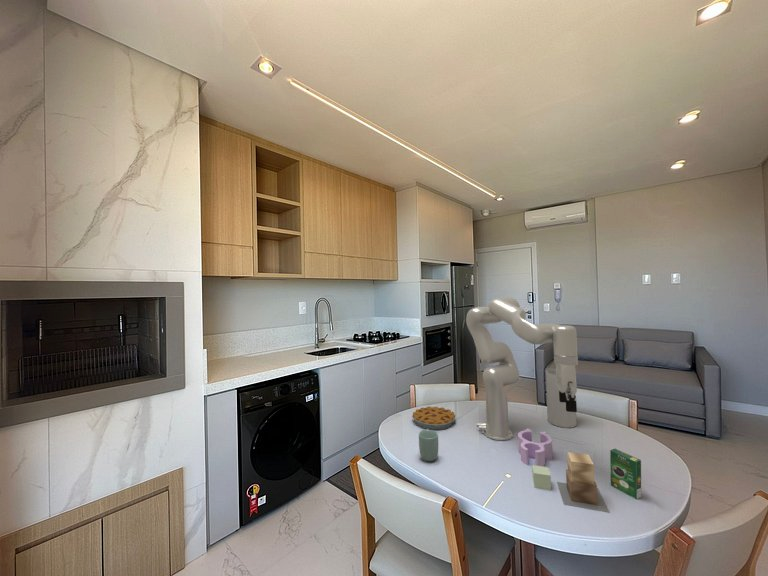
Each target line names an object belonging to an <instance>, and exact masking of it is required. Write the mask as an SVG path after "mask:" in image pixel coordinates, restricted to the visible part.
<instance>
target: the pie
mask: <svg viewBox="0 0 768 576" xmlns="http://www.w3.org/2000/svg"><path fill="white" fill-rule="evenodd" d="M411 416H412V418H413V421H414V423H415V424H416V425H417V426H419V427H421V428H423V429H426V430H433V431H439V430H444V429H447V428H450V427H451V426H452V425H453V423H454V421H455V420H456V414H455V412H454V411H451V409H446V408H445V407H438V406H426V407H420V408H419V409H416V410H415V411H413V413H412V415H411Z"/></svg>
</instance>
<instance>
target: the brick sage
mask: <svg viewBox="0 0 768 576" xmlns="http://www.w3.org/2000/svg"><path fill="white" fill-rule="evenodd" d="M531 468H532V471H531V472H532V482H533V487H534V488H536V489H543V490H547V491H552V478H551V477H552V475H551V473H550V469H549V467H547V466H543V467H542V466H536V464H532V467H531Z"/></svg>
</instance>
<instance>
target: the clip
mask: <svg viewBox="0 0 768 576" xmlns="http://www.w3.org/2000/svg"><path fill="white" fill-rule="evenodd" d="M552 439H553V438H552V437H551V436H550V435H549V434H548V433H547V431H540V432H539V442H535V441H533V432H532V430H531V428H525V430H521V431H519V432H518V433H517V442H518V443H517V444H518V453H519V455H520V461H521V462H522V463H523V464H524V465H526V466H528V465H529V459H535V460H534V461H535V464H534V465H535V466H542V467H545V465H546V461H551V460H553V440H552Z"/></svg>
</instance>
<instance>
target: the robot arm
mask: <svg viewBox="0 0 768 576" xmlns="http://www.w3.org/2000/svg"><path fill="white" fill-rule="evenodd" d="M526 317H527V313H526V311H525V309H523V308H522V307H521V306H520V303H519V301H517V299H515V298H513V297H497V298H493V299H492V300H490V301H489V303H488V305H487V306H475V307H473V308H471V309H469V310H468V312H467V314H466V319H465V323H466V326H467V329H468V331H469V333H470V334H471V337H472V338H473V339H472V340H473V342H474V346H475V348H476V351H477V354H478V357H479V359H480V362H482V363H483V364H497V363H498V364H497V365H491V366H488V367H486V368H485V369H484V371H483V372H482V380H483V385H484V389H485V390H484V392H485V408H486V409H485V412H486V414H485V415H486V420H485V422H483V423H482V422H477V423H476V427H477V428H478V429H479V430H483V434H484V436H485V437H487V438H489V439H491V440H496V441H508V440H511V439H512V438H513V432H512V431H511V430H510V429H509V406H508V405H509V404H508V403H509V402H508V401H509V400H508V395H507V392H506V391H505V388H504V387H506V386H509V385H515V384H516V383H518V382H519V380H520V371H519V369H518V368H519V367H518V366H517V363H516V360H515V358H514V355H513V352H512V350H511V348H510V346H508V344H507V343H505V342H503V341H502V342H501V341H498V342H497V341H496V342H494V340H493V337H492V334H491V332H490V330H488V329H487V328H486V327H485V326H484V325H487V324H488V325H489V324H497V323H501V322H505V323H506V324H508V325H509V326H511V329H512V331H513V333H514V334H515V335H516V336H517V337H518V338H520V339H522V340H523V341H525V342H527V343H529V344H533V345H543V344H551V343H552V344H553V362H554V364H555V370H556V386H557V388H558V389H559V401H560V402H565V403H566V411H567V412H576V413H577V412H578V410H577V409H578V408H577V407H578V406H577V397H576V396H577V395H576V393H577V392H578V385H577V370H576V366H578V365H579V358H578V335H577V328H576V327H575V326H573V325H568V324H567V325H563V324H562V325H560V324H557V323H551V322H549V323H537V324H534V323H531V322H530V321H527V320H526Z"/></svg>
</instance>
